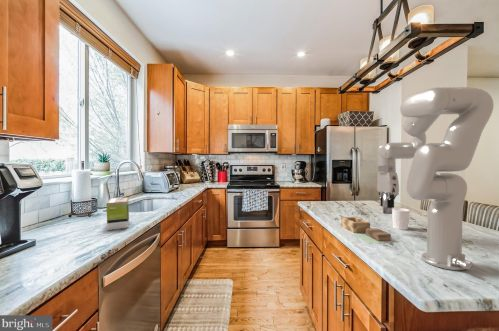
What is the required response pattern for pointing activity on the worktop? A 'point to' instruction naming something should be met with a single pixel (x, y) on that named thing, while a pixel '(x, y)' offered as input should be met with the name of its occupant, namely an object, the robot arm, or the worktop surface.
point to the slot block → (355, 224)
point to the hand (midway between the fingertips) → (387, 206)
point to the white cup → (400, 218)
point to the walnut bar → (378, 234)
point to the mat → (371, 239)
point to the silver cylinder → (385, 208)
